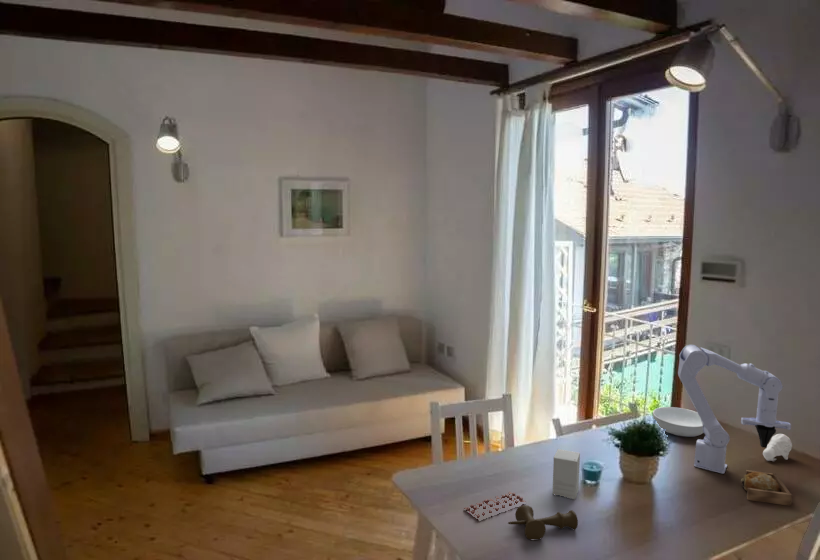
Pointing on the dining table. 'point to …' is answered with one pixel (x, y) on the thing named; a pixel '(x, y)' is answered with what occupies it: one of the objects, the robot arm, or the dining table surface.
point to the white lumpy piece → (778, 447)
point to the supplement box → (566, 473)
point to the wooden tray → (770, 492)
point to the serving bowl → (679, 421)
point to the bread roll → (759, 482)
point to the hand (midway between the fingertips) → (763, 446)
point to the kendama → (543, 521)
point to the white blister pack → (496, 503)
